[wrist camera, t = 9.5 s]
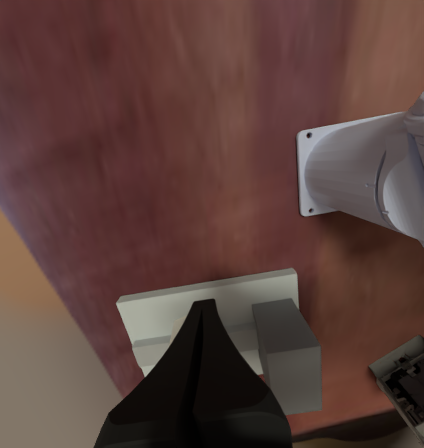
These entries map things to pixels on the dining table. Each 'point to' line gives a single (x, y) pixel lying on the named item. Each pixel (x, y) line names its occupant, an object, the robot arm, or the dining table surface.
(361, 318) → the dining table surface
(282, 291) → the rail plate
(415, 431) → the electrical switch
